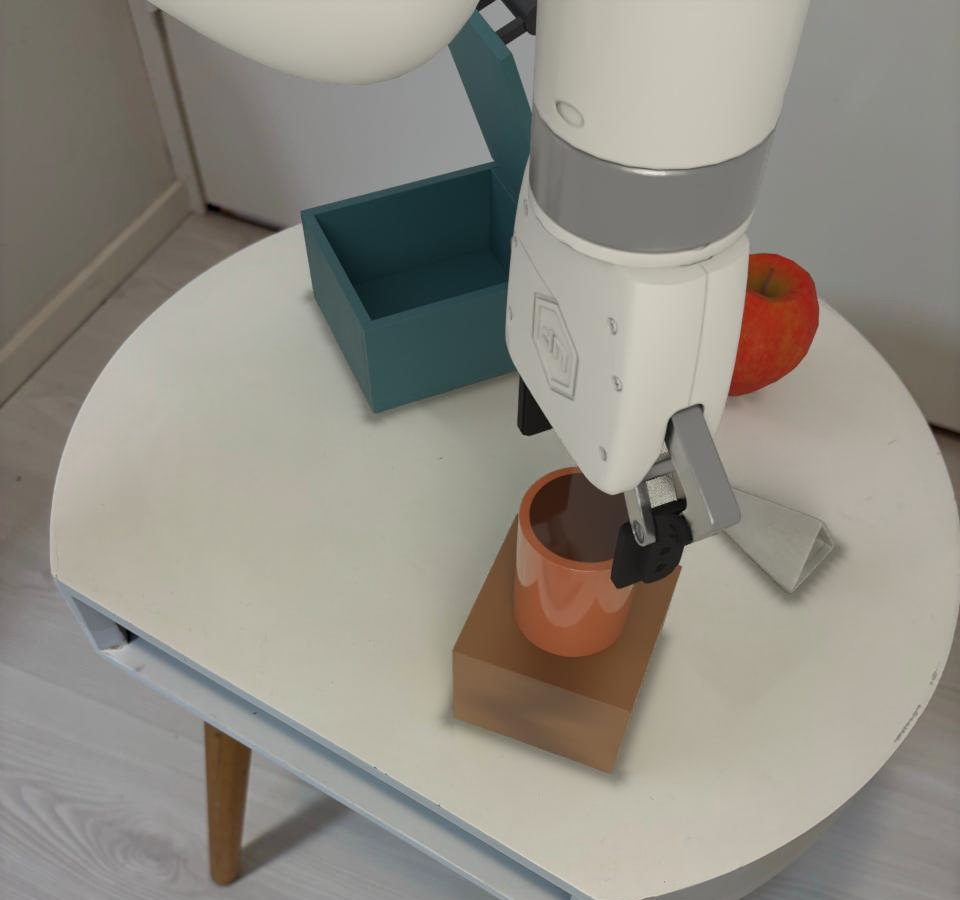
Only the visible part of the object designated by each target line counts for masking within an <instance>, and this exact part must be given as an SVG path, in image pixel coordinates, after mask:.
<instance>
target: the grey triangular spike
mask: <svg viewBox="0 0 960 900" xmlns="http://www.w3.org/2000/svg"><path fill="white" fill-rule="evenodd" d="M666 476H668V477H669V478H670V479H671V480H672V481H673V479H672V473H670V474H667V475H666ZM731 488H732V490H733V493H734V496H735V498H736V501H737V503H738V506H739V509H740V512H741V519H740V522H739V523H738V524H736V525H734V526H732V527H730V528H728V529H726V530H724V531H723V532H724V533H725V534H726V535H727V536H728V537H729V538H731V540H732V541H733V542H735V544H737V546H738V547H739V548H741V550H743V552H745V554H746V555H747V556H749V558H750V559H752V560H753V561H754V562H755V563H756V565H757V566H759V567H760V568H761V569H762V570H763V571H764V572H765V573H766V574H767V576H769V577H770V578H771V579H772V580H773V581H774V582H775V583H776V584H777V585H778V586H780V587H781V589H783V590H784V591H785V592H786V593H788V594H791V595H792V594H793V593H794V592H795V591H796V590H797V588H799V587H800V586H801V585H802V583H804V581H805V580H806V579H807V578H808V577H809V576H810V575H811V574H812V573H813V572H814V571H815V570H816V568H817V567H818V566H819V565H821V563H822V562H823V561H824V560H825V559H826V558H827V557H828V556H829V555H830V554H831V552H832V551H833V550H834V549H835V548H836V546H837V544H836V541H835V539H834V537H833V535H832V533H831V532H830V529H829V527H828V525H827V524H826V523H825V521H823V520H821V519H819V518H817V517H815V516H812V515H809V514H807V513H804V512H801V511H798V510H796V509H793V508H790V507H788V506H785V505H782V504H779V503H776V502H774V501H771V500H768V499H765V498H762V497H760V496H757V495H754V494H751V493H749V492H746V491H743V490H740V489H738V488H734V487H732V486H731Z"/></svg>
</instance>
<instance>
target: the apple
mask: <svg viewBox="0 0 960 900" xmlns="http://www.w3.org/2000/svg"><path fill="white" fill-rule="evenodd" d="M747 276H748V277H747V285H746V294H745V303H744V311H743V318H742V325H741V331H740V338H739V343H738V349H737V354H736V360H735V366H734V370H733V375H732V379H731V384H730V388H729V393H728V396H727V397H741V396H745V395H749V394H752V393H755V392H757V391H759V390H761V389H763V388H765V387H768V386H771V385H772V384H775V383H776V382H779V380H781V379H783V378H784V377H786V376H787V375H789V374H790V373H791V372H792V371H793V370H795V369H796V368H797V367H798V366H799V365H800V363H801V362H802V361H803V360H804V358H805V357H806V356H807V355H808V353H809V351H810V348H811V346H812V343H813V341H814V339H815V336H816V333H817V331H818V328H819V326H820V305H819V299H818V292H817V288H816V283H815V281H814V279H813V277H812V275H811V274H810V273H809V271H807V270H806V269H805V268H804V267H802V266H801V265H799V264H798V263H797V262H796V261H795V260H792V259H790V258H787V257H785V256H783V255H780V254H779V253H770V252H757V253H749V262H748V275H747Z"/></svg>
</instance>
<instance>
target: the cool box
mask: <svg viewBox="0 0 960 900" xmlns="http://www.w3.org/2000/svg"><path fill="white" fill-rule="evenodd" d="M518 200H519V195H518V193H517V192H516V191H515V189H514V188H513V186H512V185H511V184H510V182H509V181H508V180H507V178H506V177H505V175H504V174H503V173H502V171H501V170H500V168H499V167H498V166H497V164H496V163H495V161H494V160H493V161H489V162H485V163H481V164H477V165H473V166H470V167H465V168H462V169H458V170H454V171H450V172H446V173H443V174H439V175H435V176H431V177H427V178H422V179H419V180H415V181H412V182H407V183H403V184H399V185H395V186H391V187H388V188H383V189H380V190H375V191H372V192H369V193H368V192H367V193H364V194H360V195H356V196H353V197H349V198H345V199H340V200H337V201H332V202H328V203H325V204H322V205H318V206H314V207H310V208H306V209H302V210H300V211H299V213H300V219H301V225H302V226H301V227H302V231H303V238H304V244H305V250H306V257H307V262H308V269H309V275H310V281H311V287H312V292H313V298H314V300H315V302H316V303H317V306H318V307H319V311H321V314H322V316H323V317H324V320H325V321H326V324H327V325H328V328H329V329H330V331H331V333H332V336H333V337H334V339H335V341H336V343H337V346H338V347H339V349H340V351H341V353H342V354H343V356H344V359H345V360H346V362H347V364H348V367H349V368H350V370H351V372H352V374H353V376H354V378H355V380H356V382H357V383H358V386H359V387H360V390H361V391H362V393H363V395H364V397H365V399H366V401H367V403H368V405H369V408H370V410H371V411H372V413H373V414H379V413H382V412H384V411H388V410H391V409H395V408H398V407H401V406H404V405H407V404H411V403H414V402H418V401H421V400H424V399H426V398H427V399H428V398H430V397H433V396H437V395H440V394H444V393H446V392H450V391H453V390H457V389H459V388H463V387H466V386H470V385H473V384H475V383H476V384H477V383H480V382H483V381H486V380H488V379H492V378H496V377H498V376H499V377H500V376H502V375H505V374H508V373H511V372H515V371H518V370H517V369H516V367H515V365H514V363H513V361H512V359H511V356H510V354H509V351H508V348H507V344H506V309H507V295H508V282H509V271H510V260H511V243H510V241H511V237H512V236H513V233H514V226H515V218H516V212H517V206H518Z"/></svg>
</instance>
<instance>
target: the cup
mask: <svg viewBox="0 0 960 900" xmlns="http://www.w3.org/2000/svg"><path fill="white" fill-rule="evenodd" d="M518 514H519V518H518V532H517V546H516V559H515V573H514V587H513V601H512V609H513V615H514V619H515V621H516V624H517V626H518V627H519V629H520V631H521V632H522V633H523V635H524V636H525V637H526V638H527V639H528V640H529V641H530V642H531V643H533V644H534V645H536V646H537V647H539V648H540V649H542V650H544V651H547V652H549V653H552V654H555V655H559V656H565V657H582V656H588V655H592V654H595V653H598V652H600V651H602V650H604V649H606V648H607V647H609V646H610V645H611V644H613V643H614V642H615V641H616V640H617V639H618V638H619V637H620V635H621V634H622V632H623V631H624V629H625V626H626V624H627V620H628V617H629V613H630V609H631V605H632V601H633V597H634V594H635V590H636V586H637V583H635V584H632V585H630V586H627V587H624V588H621V589H617V588H616V587H615V586H614V584H613V582H612V581H611V579H610V576H611V569H612V564H613V559H614V554H615V549H616V544H617V539H618V534H619V529H620V527H621V526H622V525H623V524H624V523H626V522H628V521H630V520H629V516H628V511H627V506H626V502H625V497H624V492H622V493H618V494H615V495H610V494H607V493H605V492H603V491H601V490H600V489H598V488H597V487H596V486H594V485H593V484H592V483H591V482H590V481H589V480H588V479H587V478H586V477H585V475H584V474H583V472H582V471H581V470H580V468H579V467H578V465H576V466H570V467H563V468H559V469H555V470H553V471H551V472H549V473H546V474H545V475H543V476H541V477H540V478H539V479H537V480H536V481H535V482H534V483H532V484H531V486H530V487H528V489H527V490H526V491H525V493H524V495H523V497H522V499H521V502H520V504H519V509H518Z"/></svg>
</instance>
